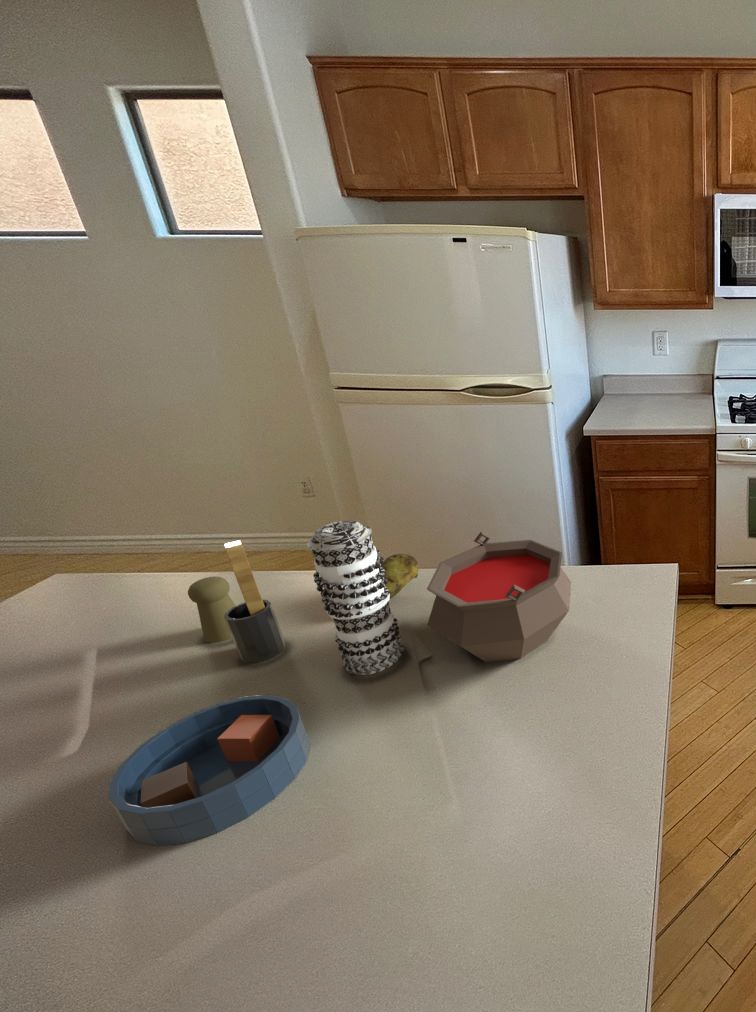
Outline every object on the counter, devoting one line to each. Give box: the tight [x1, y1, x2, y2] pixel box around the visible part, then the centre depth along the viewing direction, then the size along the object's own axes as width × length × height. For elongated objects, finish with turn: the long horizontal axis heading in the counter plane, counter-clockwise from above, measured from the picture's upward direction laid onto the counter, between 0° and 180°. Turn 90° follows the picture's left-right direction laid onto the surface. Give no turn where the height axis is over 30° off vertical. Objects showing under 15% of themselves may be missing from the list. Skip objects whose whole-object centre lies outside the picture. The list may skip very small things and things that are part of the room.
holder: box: [224, 599, 286, 665], centre depth 91 cm, size 6×6×9 cm
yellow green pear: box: [381, 553, 419, 600], centre depth 106 cm, size 8×13×8 cm, turn 139°
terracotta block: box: [217, 715, 280, 761], centre depth 73 cm, size 4×4×4 cm
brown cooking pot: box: [426, 530, 572, 663], centre depth 95 cm, size 24×24×16 cm
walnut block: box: [140, 762, 199, 808], centre depth 65 cm, size 4×4×4 cm
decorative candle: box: [306, 520, 405, 676], centre depth 86 cm, size 9×9×25 cm
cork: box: [187, 576, 236, 644], centre depth 95 cm, size 6×6×11 cm
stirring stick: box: [223, 539, 265, 616], centre depth 89 cm, size 2×2×20 cm
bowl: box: [108, 694, 311, 847], centre depth 69 cm, size 18×18×6 cm
